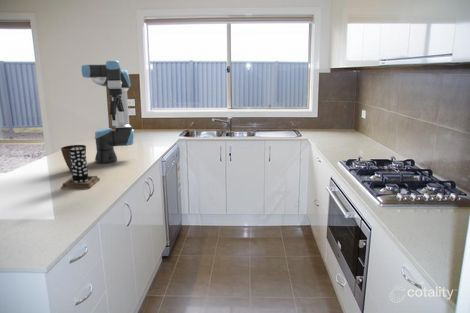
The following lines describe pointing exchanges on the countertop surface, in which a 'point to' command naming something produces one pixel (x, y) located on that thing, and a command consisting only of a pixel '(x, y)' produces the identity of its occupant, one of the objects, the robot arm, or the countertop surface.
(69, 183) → the walnut board
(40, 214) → the countertop surface
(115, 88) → the robot arm
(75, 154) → the white-spotted black cylinder
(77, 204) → the countertop surface
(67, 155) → the plant pot
